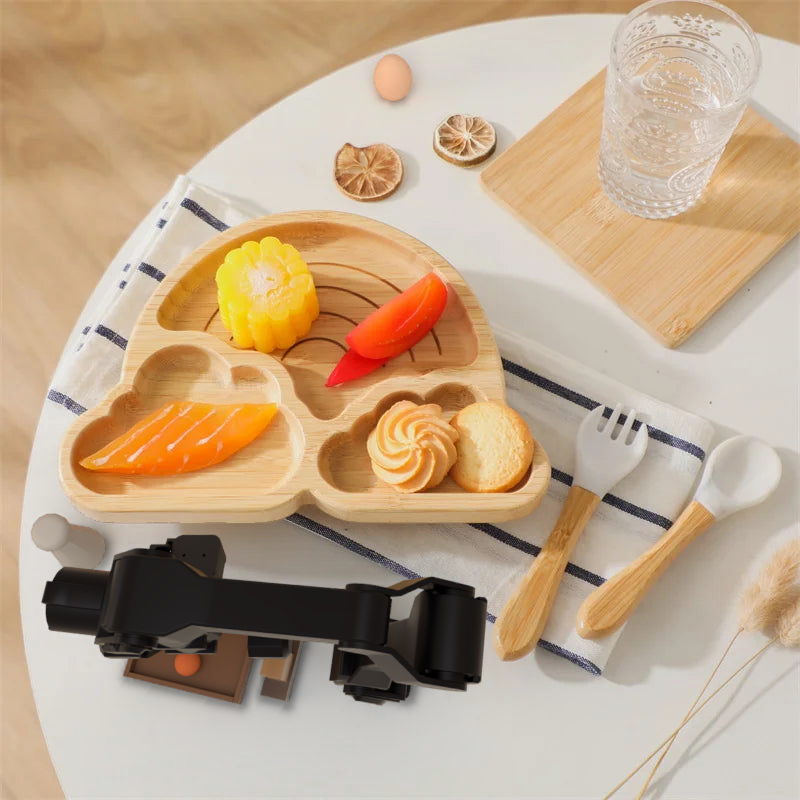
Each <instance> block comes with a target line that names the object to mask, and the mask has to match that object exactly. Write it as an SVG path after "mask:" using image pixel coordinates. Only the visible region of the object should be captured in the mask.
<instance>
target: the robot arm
mask: <svg viewBox="0 0 800 800" xmlns="http://www.w3.org/2000/svg"><path fill="white" fill-rule="evenodd" d="M226 563H227V554H226V551H225V549H224V546H223V544H222V541H221V538H220V537H219V536H218V535H216V534H182V535H178V536H177V537H168V538H166V541H165V543H151V544H150V545H149V548H145V547H136V548H131V549H129V550H126V551H122V552H120V553H115V554H114V555H113V558H112V563H111V568H110V570H103V569H102V570H101V569H84V568H75V567H66V566H64V567H61V568H60V569H58V571H57V572H56V574H55V575H54V576H53V579H52V580H46V582H45V585H44V589H43V593H42V597H41V601H40V603H41V604H44V605H45V620H46V621H45V622H46V624H47V629H48V630H49V631H50V632H57V633H66V634H74V635H82V636H83V635H84V636H90V637H91V636H92V637H93V636H94V642H93V645H97V646H98V648H99V651H100V653H101V654H102V656H103V657H104V658H107V659H111V660H118V659H119V660H128V659H138V658H150V657H152V656H153V655H155V654H157V653H158V652H160V651H162V650H165V653H166V654H217V646H218V641H219V639H220V638H221V636H222V633H230V634H240V635H248V644H247V648H248V656H249V658H251V659H253V660H264V659H287V658H288V657H289V656H290V655H291V654H292V640H300V641H304V642H310V643H311V642H312V643H320V644H331V645H333V649H332V656H331V664H330V669H329V670H330V672H329V679H328V681H329V682H333V684H334V685H335V686H343V687H342V693H343V694H344V695H345V696H349V697H352V698H353V700H354V702H359V703H366V704H371V705H376V706H381V707H382V706H383V705H384V704H385V703H389V702H390V703H401V702H405V701H406V699H408V698H409V697H410V693H411V688H412V686H415V687H421V688H425V689H432V690H438V691H446V692H459V693H467V691H468V685H480V683H481V682H482V676H483V665H484V653H485V642H486V641H485V640H486V628H487V627H486V626H487V616H488V615H487V614H488V603H489V602H488V601H489V600H488V599H487V598H486V596H476V588H475V586H472V585H469V584H466V583H461V582H457V581H454V580H449V579H446V578H445V579H444V578H441V577H437V576H425V577H417V578H411V579H404V580H401V581H399V582H396V583H394V584H392V585H389V586H387V587H385V586H381V585H376V584H370V583H359V582H352V583H351V582H349V583H346V584H345V588H340V587H329V586H328V587H327V586H316V585H315V586H314V585H306V584H305V585H304V584H291V583H283V582H280V583H279V582H268V581H260V580H259V581H258V580H247V579H235V578H225V577H224V571H225V566H226ZM418 589H419V590H421V591H420V592H419V593H418V594H417V595H415V596H414V599H413V602H412V605H411V610H410V612H409V613H410V614H409V616H408V617H406V618H403V619H395V618H391V612H392V604H393V599H392V598H399V597H403V596H405V595H407V594H409V593H412V592H414V591H416V590H418Z"/></svg>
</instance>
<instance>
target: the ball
mask: <svg viewBox="0 0 800 800" xmlns="http://www.w3.org/2000/svg"><path fill="white" fill-rule="evenodd" d="M200 663H201V662H200V657H199V655H198V654H178V655H177V656H176V658H175V663H174V665H175V669H176V671H177V672H178V673H179V674H181V675H183V676H190V675H193V674H194V673H196V672H197V671H198V669H199V667H200Z"/></svg>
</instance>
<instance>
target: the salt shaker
mask: <svg viewBox="0 0 800 800" xmlns="http://www.w3.org/2000/svg"><path fill="white" fill-rule="evenodd" d="M30 537H31V538H30V539H31V541H32V542H33V544H34V545H35V546H36V548H37V549H39V550H41V551H44V552H48V553H49V552H50V553H51V554H52V555H53V556H54V558H55V559H56V560H57V562H59V564H60V565H61V568H63V567H64V566H66V567H75V568H84V569H93V570H95V568H97V566H98V565H100V563H101V562H102V561H103V560H104V559H103V558H104V556H105V552H106V545H105V539H104V538H103V536H102V535H101V534H100V532H99V531H98V530H96V529H94V528H91V527H90V526H85V525H81V524H75V523H70V522H69V520H68V519H67V518H66V517H64V516H62V515H60V514H58V513H46V514H43V515H41V516H39V517H38V518H37V519H36V520H35V521H34V522H33V524H32V526H31V530H30Z"/></svg>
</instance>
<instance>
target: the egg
mask: <svg viewBox="0 0 800 800" xmlns="http://www.w3.org/2000/svg"><path fill="white" fill-rule="evenodd" d="M372 77H373V85H374V89H375V91H376V92H377V93H378V95H379V96H380V97H381V98H383V99H385V100H387V101H392V102H393V101H394V102H395V101H399V100H401V99H403V98H404V97H406V96H407V95H408V94H409V92H410V90H411V87H412V84H413V74H412V70H411V67H410V65H409V64H408V62H407V61H406V60H405V59H404V58H403V57H402V56H400V55H398V54H395V53H389V54H386V55H384V56H382V57H381V59H379V60H378V62H377V63H376V65H375V67H374V69H373V75H372Z"/></svg>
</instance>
